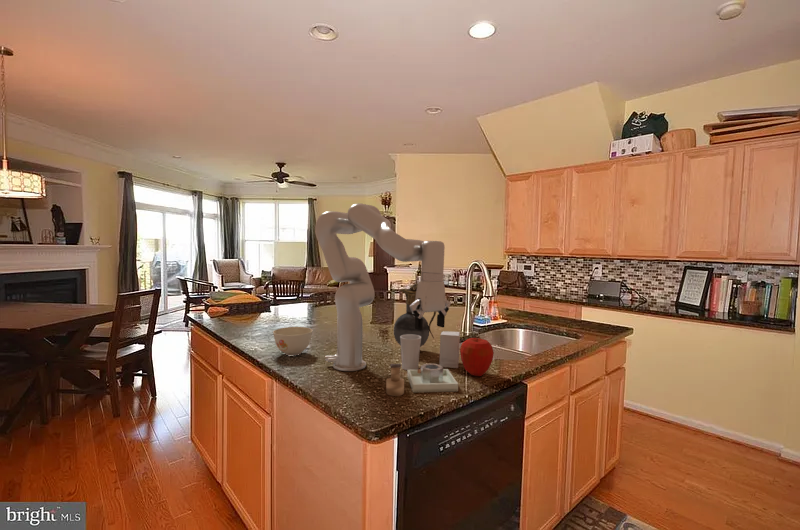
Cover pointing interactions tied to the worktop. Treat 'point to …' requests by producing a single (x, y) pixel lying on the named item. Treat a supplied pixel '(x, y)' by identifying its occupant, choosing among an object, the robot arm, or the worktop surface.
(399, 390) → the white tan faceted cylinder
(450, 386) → the tray
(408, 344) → the cup
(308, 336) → the bowl
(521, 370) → the worktop surface
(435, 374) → the ring
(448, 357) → the supplement box
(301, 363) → the worktop surface
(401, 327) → the pitcher
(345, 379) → the worktop surface
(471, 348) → the apple
